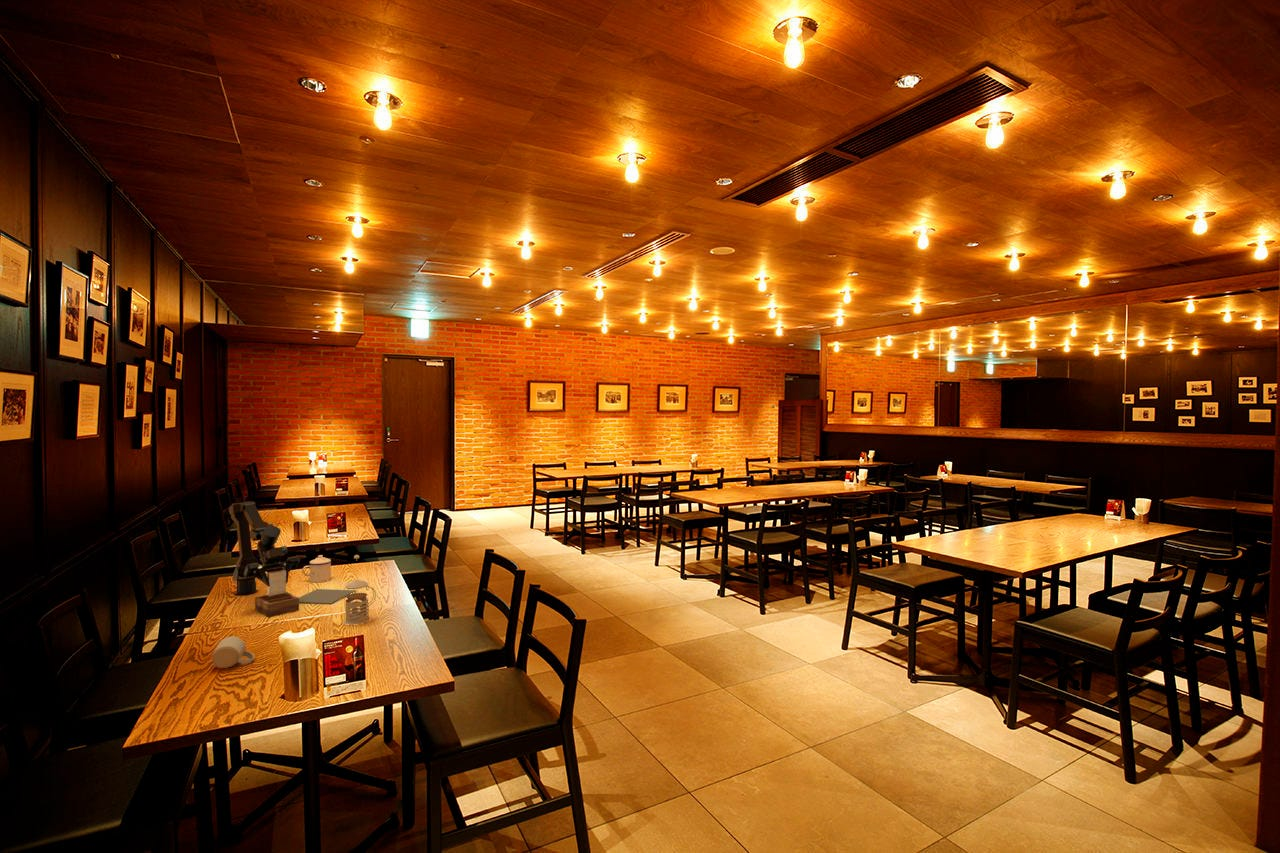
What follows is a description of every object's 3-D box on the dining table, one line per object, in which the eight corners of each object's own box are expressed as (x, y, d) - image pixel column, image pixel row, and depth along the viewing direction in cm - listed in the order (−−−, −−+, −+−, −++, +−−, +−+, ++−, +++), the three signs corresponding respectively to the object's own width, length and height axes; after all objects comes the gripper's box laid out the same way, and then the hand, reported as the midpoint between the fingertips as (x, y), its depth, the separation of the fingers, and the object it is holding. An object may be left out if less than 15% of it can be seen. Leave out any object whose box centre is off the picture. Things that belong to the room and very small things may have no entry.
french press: (338, 621, 227) (337, 555, 226) (369, 613, 235) (369, 550, 235) (348, 627, 220) (348, 559, 220) (380, 619, 229) (380, 554, 228)
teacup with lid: (332, 576, 289) (332, 552, 288) (330, 581, 280) (330, 556, 280) (303, 579, 284) (303, 554, 284) (301, 584, 276) (300, 559, 276)
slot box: (255, 609, 240) (255, 597, 240) (285, 603, 248) (285, 591, 248) (267, 617, 231) (267, 604, 231) (298, 610, 239) (298, 597, 239)
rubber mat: (289, 603, 248) (289, 601, 248) (317, 590, 266) (317, 589, 266) (331, 604, 247) (331, 603, 247) (356, 591, 265) (355, 590, 265)
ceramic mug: (210, 671, 182) (210, 646, 182) (217, 661, 190) (217, 637, 189) (251, 666, 186) (252, 642, 186) (256, 657, 194) (256, 633, 194)
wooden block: (267, 595, 238) (267, 572, 237) (284, 592, 242) (284, 569, 242) (269, 596, 236) (269, 573, 236) (286, 593, 241) (286, 570, 241)
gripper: (246, 543, 234) (256, 577, 227) (298, 536, 248) (309, 568, 242) (239, 560, 240) (249, 593, 233) (290, 552, 254) (301, 583, 247)
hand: (278, 584), depth 238 cm, fingers closed on wooden block, 6 cm apart
